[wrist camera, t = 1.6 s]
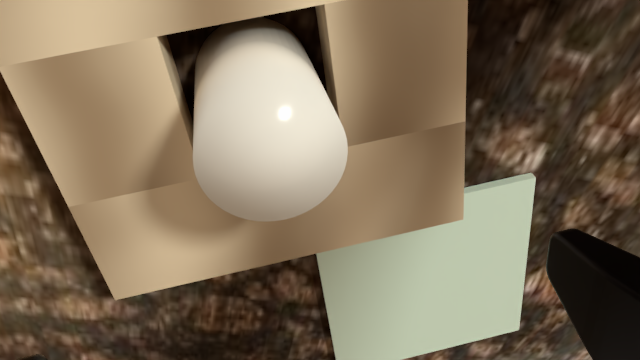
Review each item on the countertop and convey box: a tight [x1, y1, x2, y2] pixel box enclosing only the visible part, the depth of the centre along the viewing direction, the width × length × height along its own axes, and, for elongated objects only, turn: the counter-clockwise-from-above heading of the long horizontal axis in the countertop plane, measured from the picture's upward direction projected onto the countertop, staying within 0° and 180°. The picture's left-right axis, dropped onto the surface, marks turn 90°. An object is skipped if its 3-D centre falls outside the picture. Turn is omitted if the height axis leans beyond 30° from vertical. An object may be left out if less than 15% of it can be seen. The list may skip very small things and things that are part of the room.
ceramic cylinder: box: [193, 17, 348, 222], centre depth 16 cm, size 4×4×6 cm
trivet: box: [316, 173, 536, 360], centre depth 26 cm, size 10×10×1 cm
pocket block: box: [0, 0, 468, 300], centre depth 18 cm, size 14×14×2 cm
